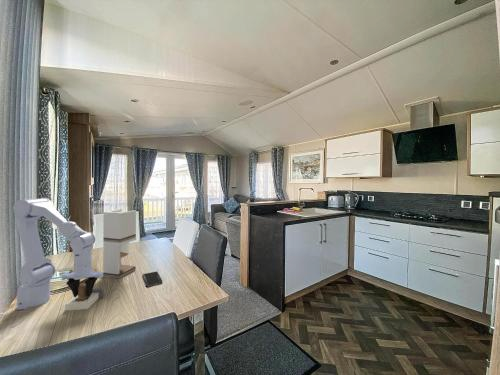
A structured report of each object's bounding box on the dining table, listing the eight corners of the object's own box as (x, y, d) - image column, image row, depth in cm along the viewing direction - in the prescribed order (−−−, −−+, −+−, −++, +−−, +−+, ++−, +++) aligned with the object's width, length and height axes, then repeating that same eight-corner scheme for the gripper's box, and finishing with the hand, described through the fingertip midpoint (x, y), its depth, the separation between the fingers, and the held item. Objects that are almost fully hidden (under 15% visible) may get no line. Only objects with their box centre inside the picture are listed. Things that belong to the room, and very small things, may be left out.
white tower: (119, 278, 113) (120, 213, 112) (103, 276, 115) (103, 212, 114) (135, 269, 124) (136, 210, 123) (120, 267, 126) (120, 209, 125)
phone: (146, 285, 105) (142, 274, 117) (146, 288, 105) (142, 276, 117) (163, 281, 109) (157, 271, 121) (163, 284, 109) (157, 273, 122)
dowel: (80, 303, 89) (80, 284, 89) (88, 302, 90) (88, 283, 90) (76, 307, 86) (76, 287, 86) (84, 306, 87) (84, 287, 87)
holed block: (65, 310, 83) (65, 304, 83) (78, 299, 91) (78, 293, 91) (87, 309, 85) (87, 303, 85) (98, 298, 93) (98, 292, 93)
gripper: (55, 267, 82) (55, 302, 83) (96, 266, 85) (96, 299, 85) (68, 260, 89) (68, 292, 90) (105, 259, 92) (105, 290, 92)
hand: (82, 295), depth 88 cm, fingers open, 4 cm apart
